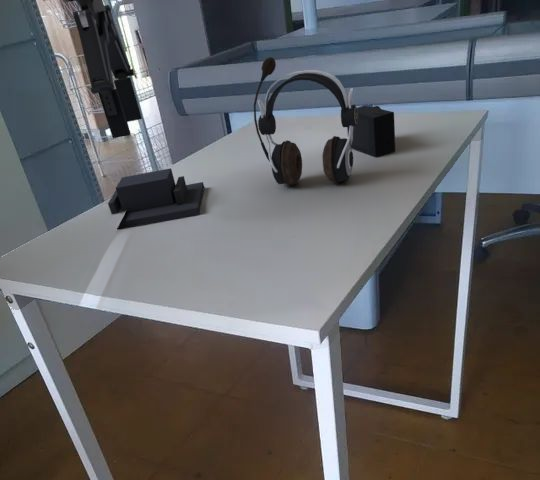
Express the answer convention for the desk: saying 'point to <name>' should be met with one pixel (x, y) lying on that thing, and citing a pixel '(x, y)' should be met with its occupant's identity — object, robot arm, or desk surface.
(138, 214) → the base pad
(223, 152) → the desk surface
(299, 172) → the headset
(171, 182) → the foam pad
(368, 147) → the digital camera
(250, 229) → the desk surface
